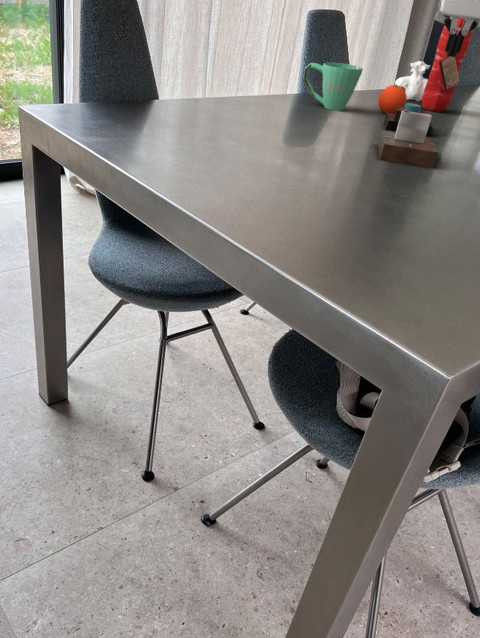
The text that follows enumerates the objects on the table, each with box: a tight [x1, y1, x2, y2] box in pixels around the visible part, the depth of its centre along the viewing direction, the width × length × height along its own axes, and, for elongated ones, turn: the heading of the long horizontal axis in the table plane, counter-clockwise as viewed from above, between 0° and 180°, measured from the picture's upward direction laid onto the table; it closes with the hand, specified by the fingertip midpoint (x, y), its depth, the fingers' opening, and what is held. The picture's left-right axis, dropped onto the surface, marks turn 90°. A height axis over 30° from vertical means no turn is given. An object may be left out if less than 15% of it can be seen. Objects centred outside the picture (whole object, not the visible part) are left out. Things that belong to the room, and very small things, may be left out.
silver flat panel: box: [395, 110, 432, 144], centre depth 110 cm, size 6×2×5 cm, turn 78°
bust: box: [394, 60, 431, 102], centre depth 171 cm, size 12×8×11 cm
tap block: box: [377, 130, 439, 169], centre depth 112 cm, size 10×12×3 cm
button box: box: [383, 107, 434, 138], centre depth 134 cm, size 10×10×4 cm
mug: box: [303, 61, 364, 112], centre depth 145 cm, size 15×10×10 cm
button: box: [403, 102, 422, 113], centre depth 133 cm, size 4×4×2 cm
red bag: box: [421, 17, 474, 113], centre depth 152 cm, size 12×8×25 cm, turn 163°
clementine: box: [377, 84, 407, 115], centre depth 147 cm, size 8×7×7 cm
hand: (450, 55), depth 122 cm, fingers closed
